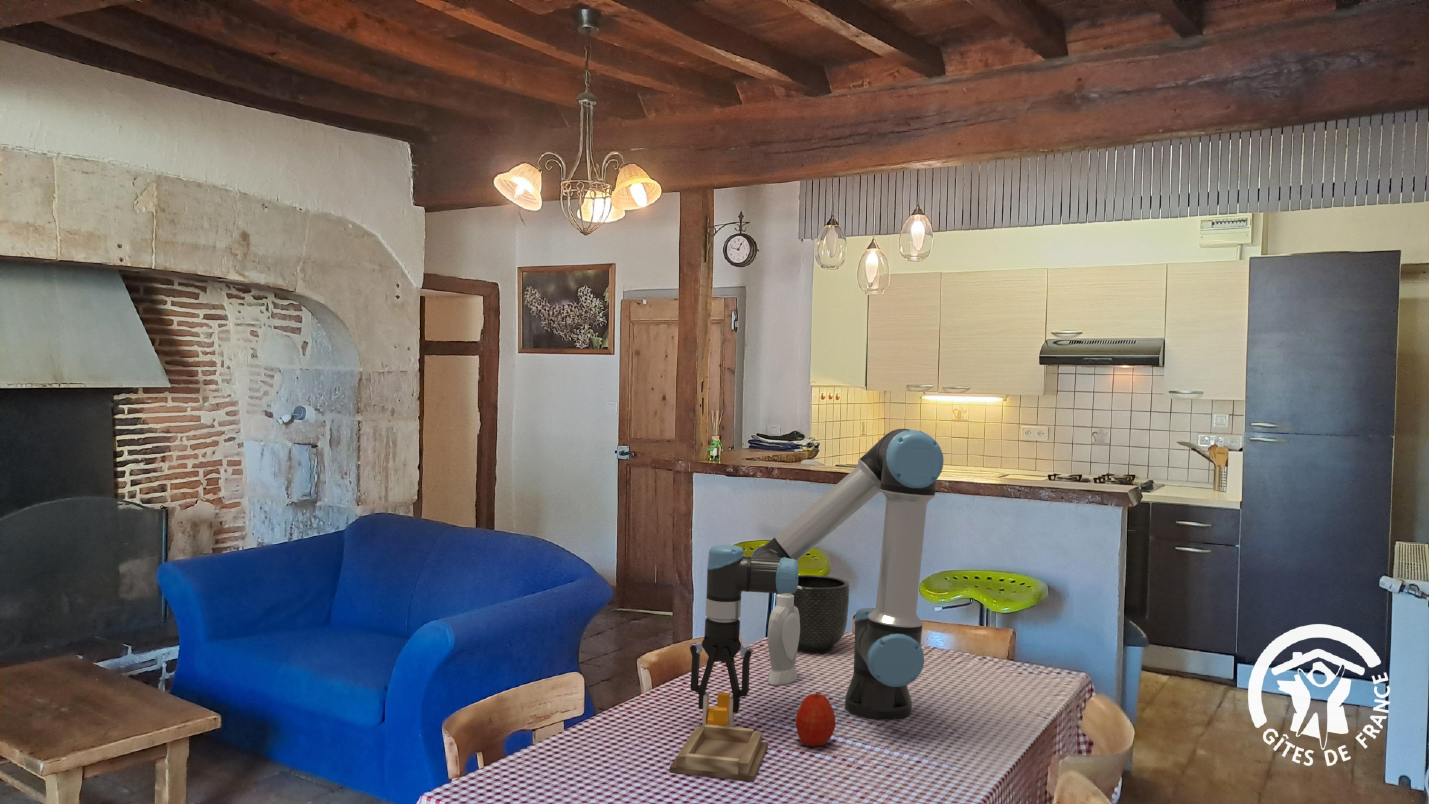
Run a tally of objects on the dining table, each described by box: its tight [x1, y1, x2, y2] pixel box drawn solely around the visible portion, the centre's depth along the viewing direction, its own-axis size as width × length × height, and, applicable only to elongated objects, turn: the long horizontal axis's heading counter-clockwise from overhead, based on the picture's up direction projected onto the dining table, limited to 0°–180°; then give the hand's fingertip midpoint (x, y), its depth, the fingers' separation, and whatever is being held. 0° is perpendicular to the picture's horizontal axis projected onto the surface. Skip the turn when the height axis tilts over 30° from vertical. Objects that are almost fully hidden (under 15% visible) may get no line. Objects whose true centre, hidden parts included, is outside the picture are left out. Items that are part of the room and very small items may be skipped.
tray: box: [669, 724, 769, 782], centre depth 189 cm, size 16×18×3 cm
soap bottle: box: [767, 586, 803, 686], centre depth 241 cm, size 13×8×24 cm, turn 139°
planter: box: [791, 574, 850, 654], centre depth 274 cm, size 20×20×19 cm
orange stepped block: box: [707, 691, 731, 726], centre depth 206 cm, size 12×4×6 cm, turn 175°
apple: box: [795, 691, 836, 747], centre depth 199 cm, size 8×8×11 cm
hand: (717, 725), depth 209 cm, fingers open, 5 cm apart
